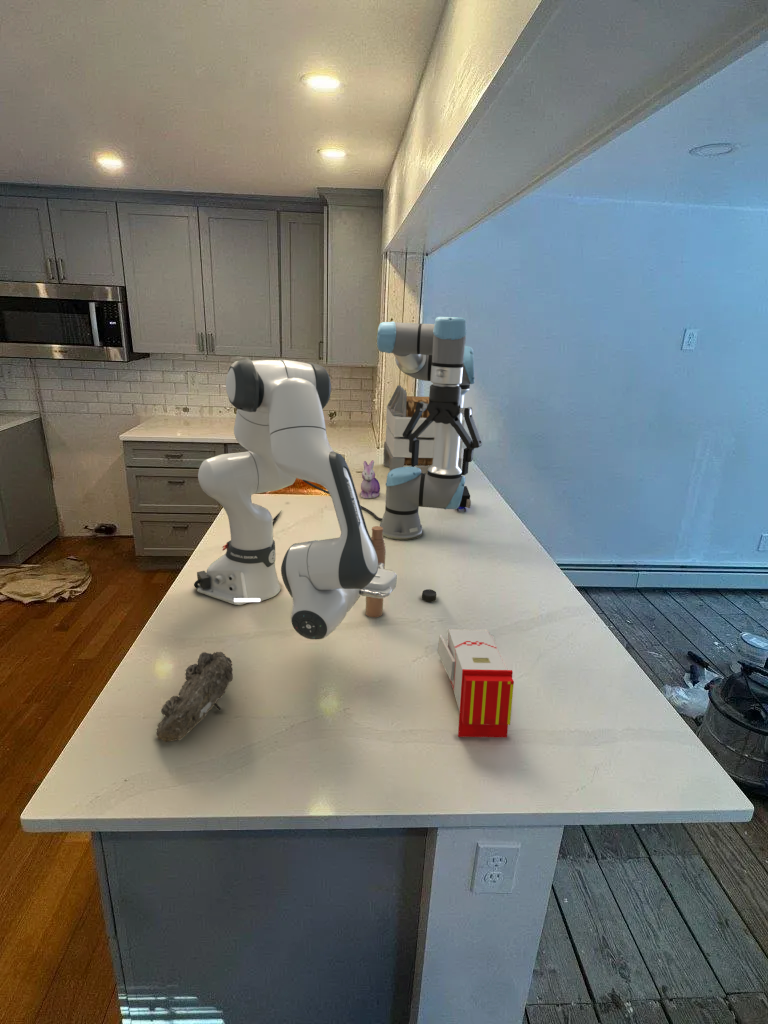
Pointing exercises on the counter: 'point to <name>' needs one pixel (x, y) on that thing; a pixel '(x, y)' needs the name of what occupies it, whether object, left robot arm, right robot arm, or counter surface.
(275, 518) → the feather
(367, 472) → the figurine
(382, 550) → the bottle
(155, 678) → the counter surface
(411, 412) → the white slatted crate
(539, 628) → the counter surface
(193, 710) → the fossil
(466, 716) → the toy
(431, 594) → the cap
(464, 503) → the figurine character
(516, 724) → the counter surface
